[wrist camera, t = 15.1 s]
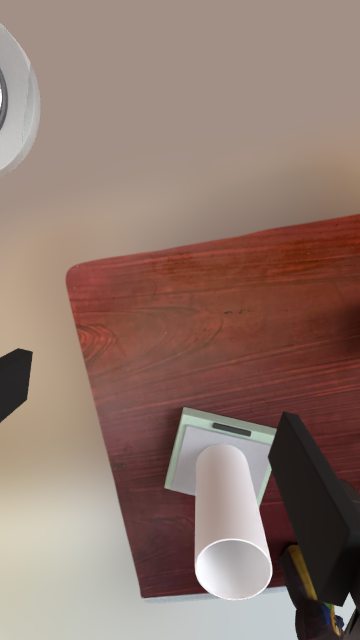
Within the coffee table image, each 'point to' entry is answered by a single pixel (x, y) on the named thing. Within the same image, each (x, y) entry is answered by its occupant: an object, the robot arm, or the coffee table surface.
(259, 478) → the scale
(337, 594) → the robot arm
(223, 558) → the cup
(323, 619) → the figurine
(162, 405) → the coffee table surface
